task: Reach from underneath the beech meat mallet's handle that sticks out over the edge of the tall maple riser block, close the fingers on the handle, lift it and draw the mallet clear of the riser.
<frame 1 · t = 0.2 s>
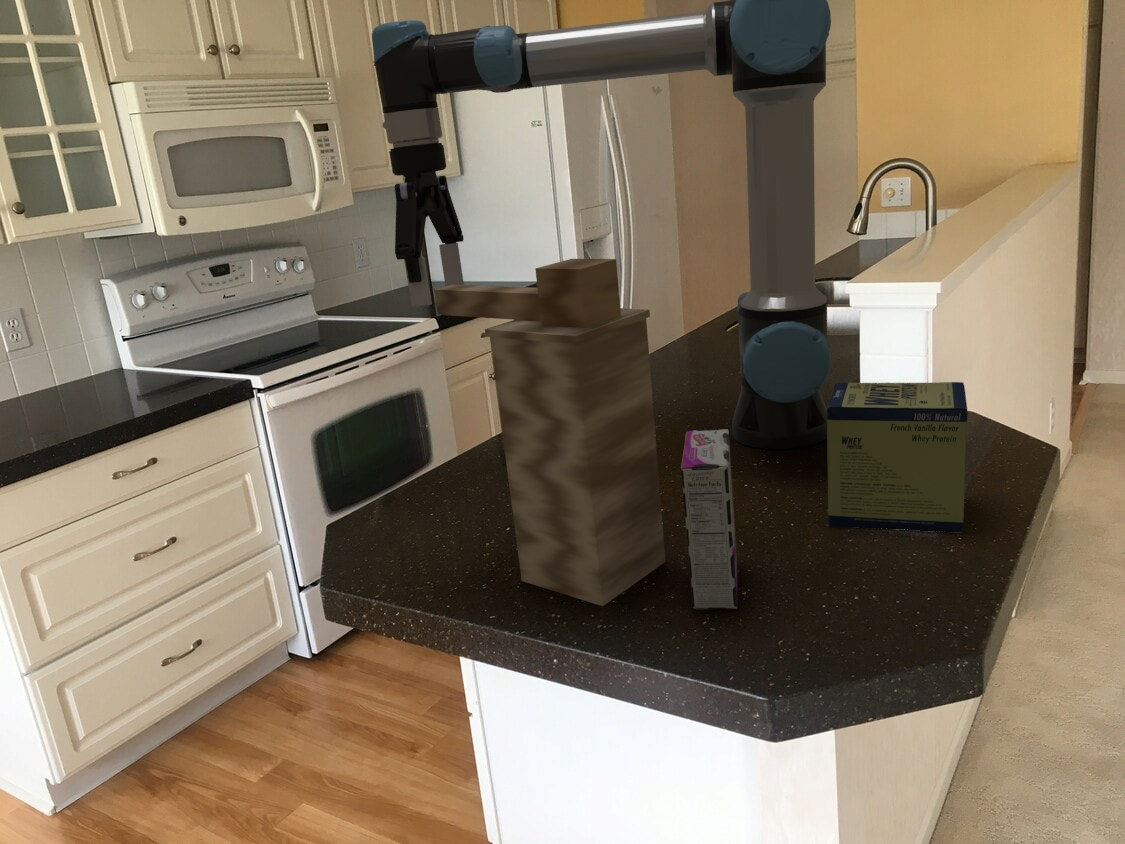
hand: (439, 296, 135), 28 cm above the table, tool pointing down, fingers open, 13 cm apart
mallet: (500, 315, 106), point 30 cm above the table, touching riser
candy bar box: (714, 587, 103), on the table
riser: (593, 571, 109), on the table
protein box: (895, 515, 115), on the table
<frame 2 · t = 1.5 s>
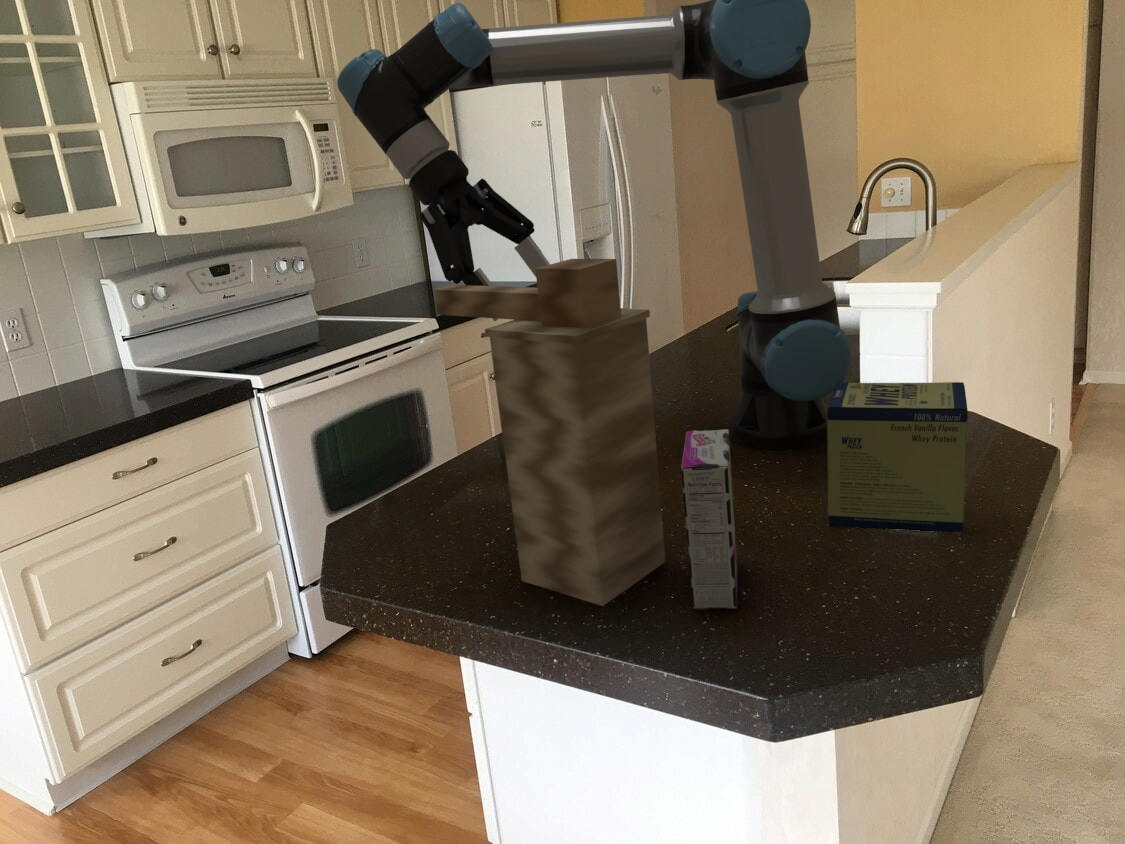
hand: (527, 297, 124), 29 cm above the table, tool tilted 30°, fingers open, 13 cm apart
nothing on the table moved.
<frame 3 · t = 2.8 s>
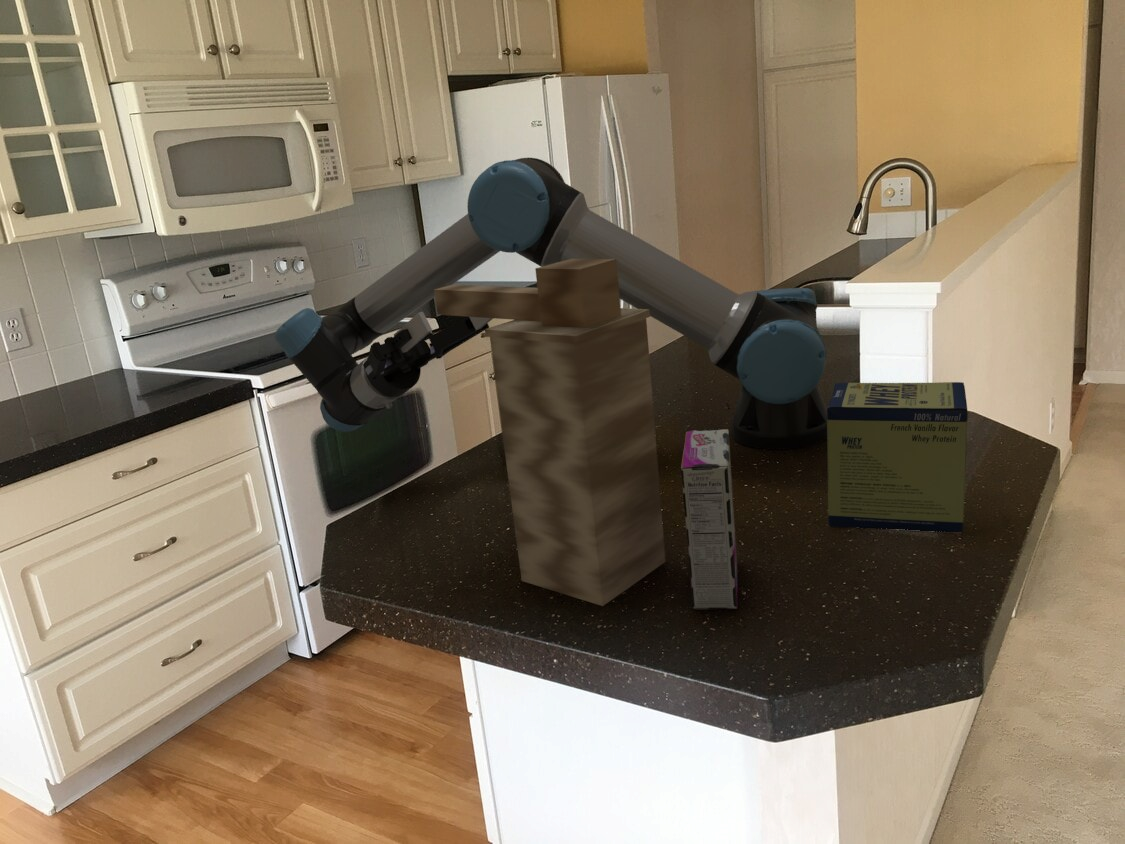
hand: (464, 310, 123), 28 cm above the table, tool pointing upward, fingers open, 13 cm apart
nothing on the table moved.
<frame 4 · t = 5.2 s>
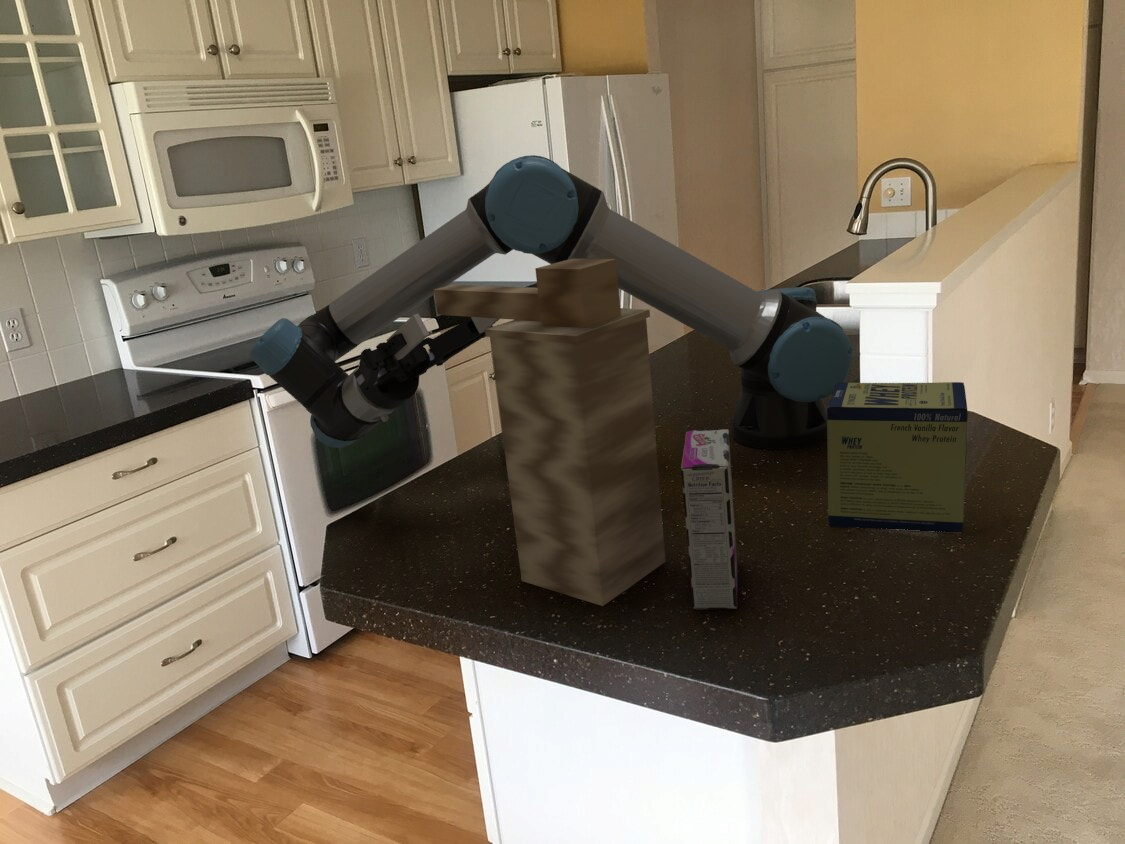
hand: (465, 311, 109), 30 cm above the table, tool pointing upward, fingers open, 13 cm apart
nothing on the table moved.
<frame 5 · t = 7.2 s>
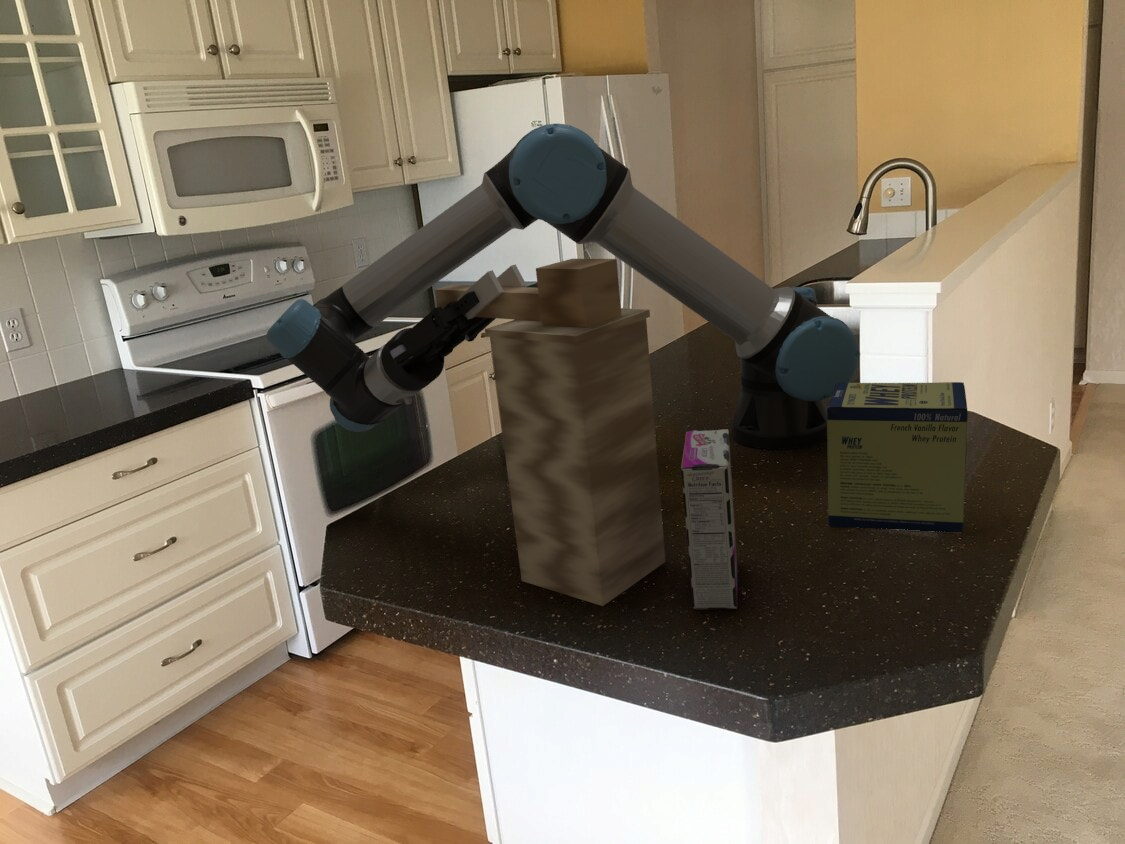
hand: (507, 278, 104), 34 cm above the table, tool pointing upward, fingers closed on mallet, 3 cm apart
mallet: (500, 315, 106), point 30 cm above the table, touching gripper, riser
everything else where it was.
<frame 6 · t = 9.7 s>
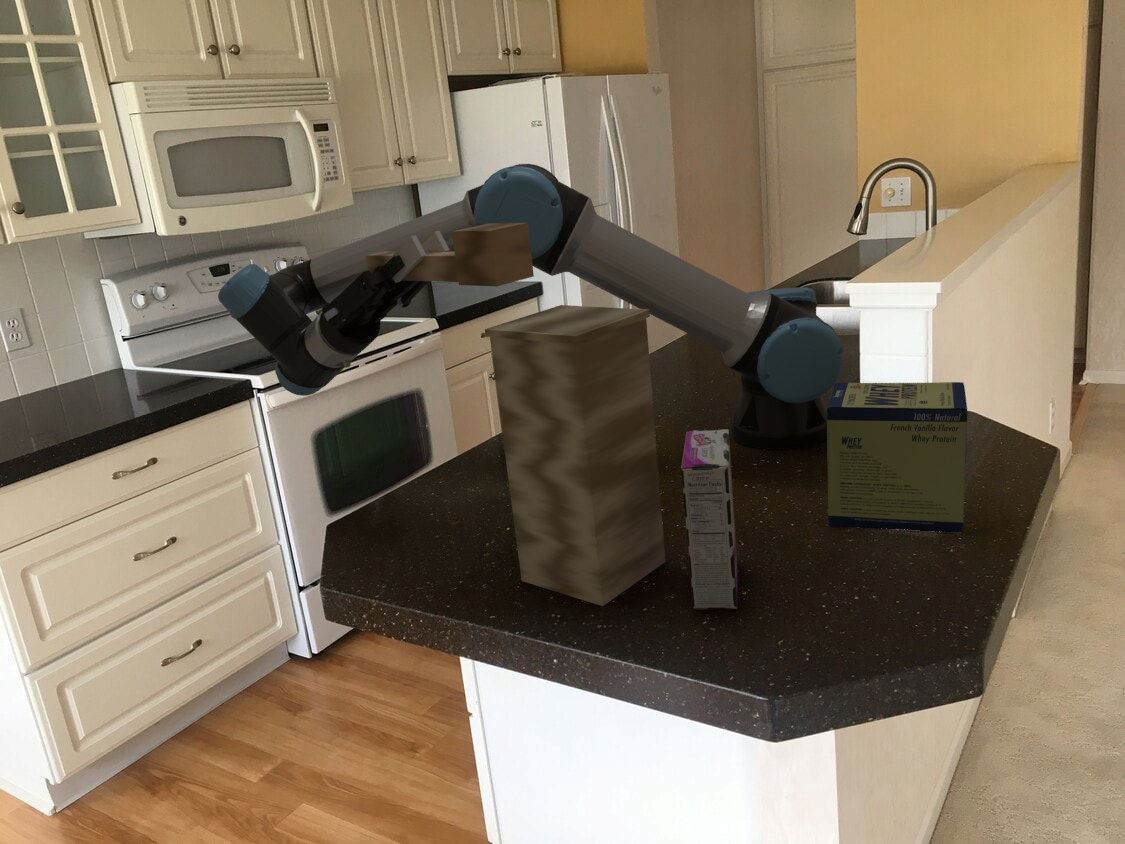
hand: (430, 243, 110), 38 cm above the table, tool pointing upward, fingers closed on mallet, 3 cm apart
mallet: (425, 278, 113), point 34 cm above the table, touching gripper
everything else where it was.
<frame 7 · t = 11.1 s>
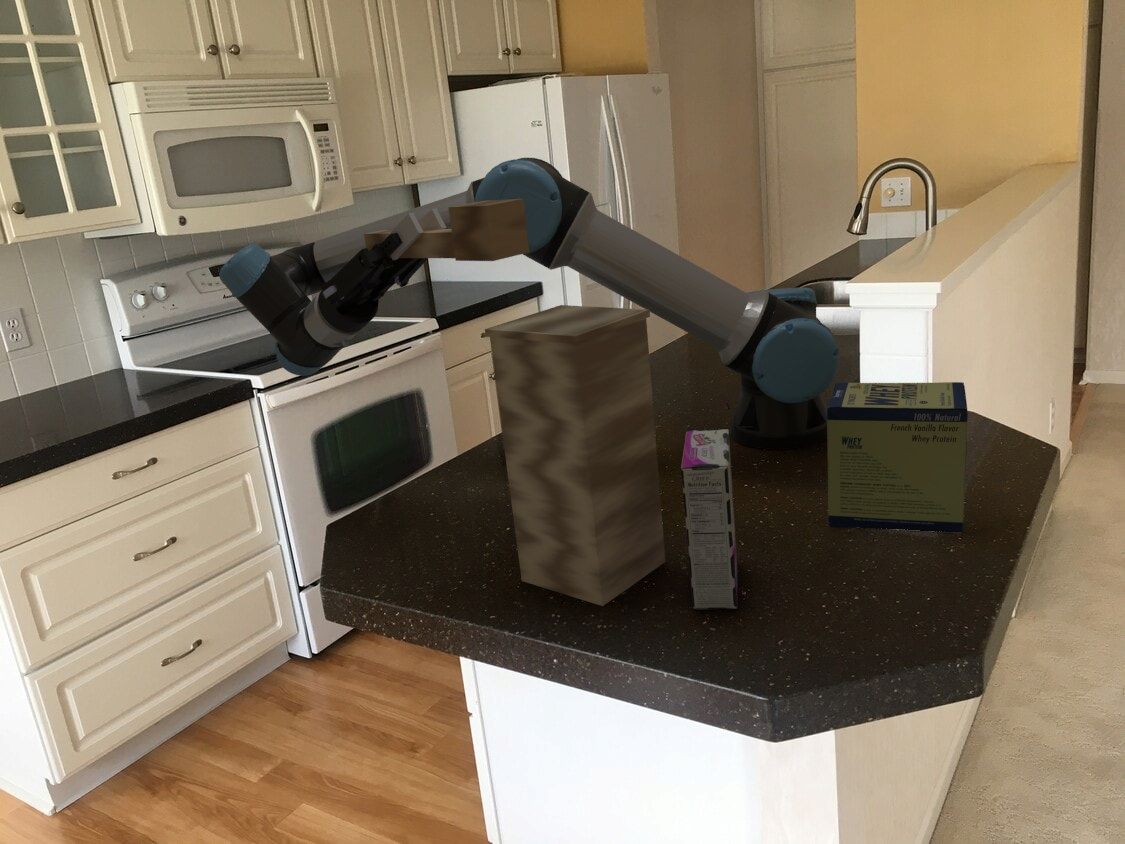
hand: (427, 220, 112), 41 cm above the table, tool pointing upward, fingers closed on mallet, 3 cm apart
mallet: (423, 255, 114), point 36 cm above the table, touching gripper
everything else where it was.
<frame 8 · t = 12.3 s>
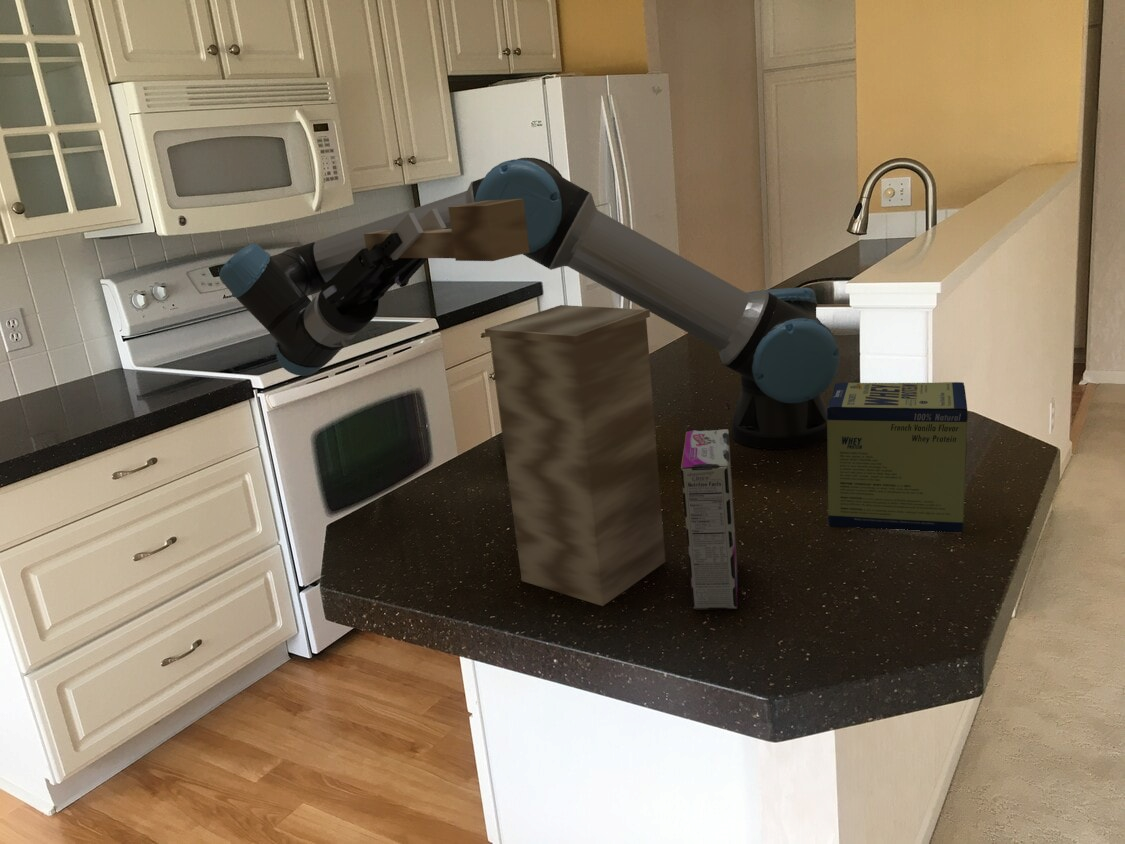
hand: (427, 220, 112), 41 cm above the table, tool pointing upward, fingers closed on mallet, 3 cm apart
mallet: (423, 255, 114), point 36 cm above the table, touching gripper
everything else where it was.
at the end: the gripper is holding mallet; mallet point 36.4 cm above the table; mallet moved 15.1 cm from its start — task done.
